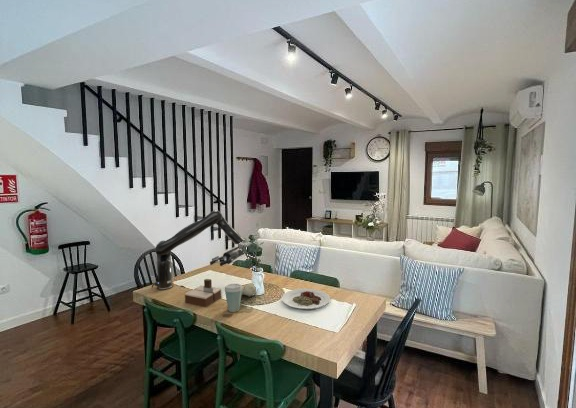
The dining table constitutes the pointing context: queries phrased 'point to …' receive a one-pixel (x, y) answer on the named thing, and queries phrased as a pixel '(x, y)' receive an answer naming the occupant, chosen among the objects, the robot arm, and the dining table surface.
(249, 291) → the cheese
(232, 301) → the disposable coffee cup
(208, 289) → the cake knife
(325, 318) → the dining table surface
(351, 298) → the dining table surface
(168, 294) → the dining table surface
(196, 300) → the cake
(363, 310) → the dining table surface
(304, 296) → the plated food
